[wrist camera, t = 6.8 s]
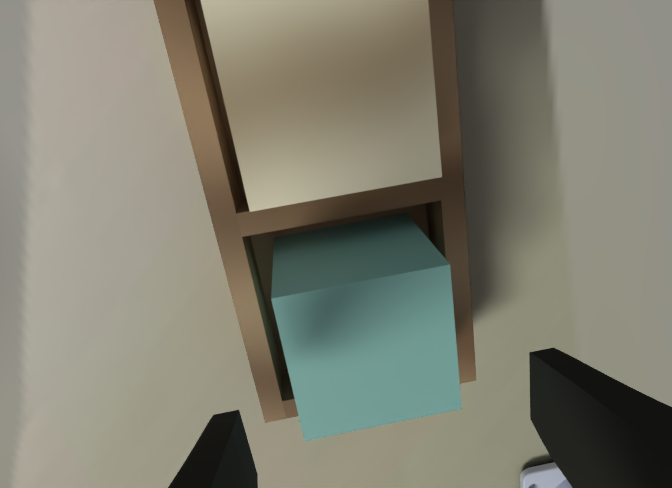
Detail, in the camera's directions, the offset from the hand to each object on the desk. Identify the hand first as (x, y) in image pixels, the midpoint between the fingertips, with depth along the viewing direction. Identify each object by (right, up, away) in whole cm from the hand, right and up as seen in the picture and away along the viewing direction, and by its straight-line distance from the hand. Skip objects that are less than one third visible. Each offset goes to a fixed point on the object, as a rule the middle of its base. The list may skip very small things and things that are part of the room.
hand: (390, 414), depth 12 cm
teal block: (-1, +3, +7) cm, 8 cm away
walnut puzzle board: (-2, +6, +7) cm, 9 cm away
